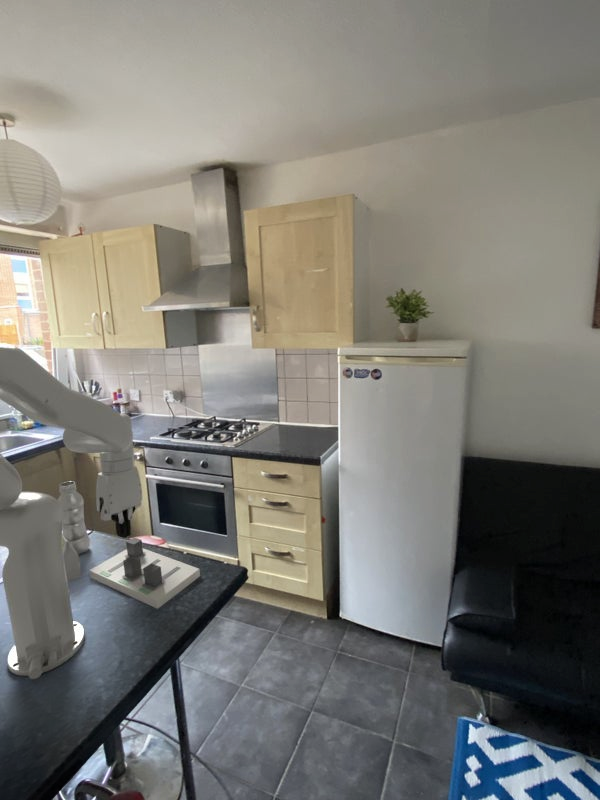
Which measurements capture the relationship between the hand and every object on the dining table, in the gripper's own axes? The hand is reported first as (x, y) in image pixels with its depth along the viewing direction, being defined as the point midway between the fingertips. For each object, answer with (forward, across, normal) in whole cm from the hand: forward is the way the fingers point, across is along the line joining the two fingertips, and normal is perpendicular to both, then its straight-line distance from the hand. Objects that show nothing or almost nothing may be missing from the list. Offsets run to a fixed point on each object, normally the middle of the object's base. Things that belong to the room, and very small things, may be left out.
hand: (124, 535), depth 102 cm
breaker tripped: (+7, -3, -1) cm, 8 cm away
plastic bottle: (+9, +1, -20) cm, 22 cm away
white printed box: (+10, +8, -12) cm, 17 cm away
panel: (+9, 0, +6) cm, 11 cm away
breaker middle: (+7, +3, +6) cm, 10 cm away
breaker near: (+7, +3, +13) cm, 16 cm away
